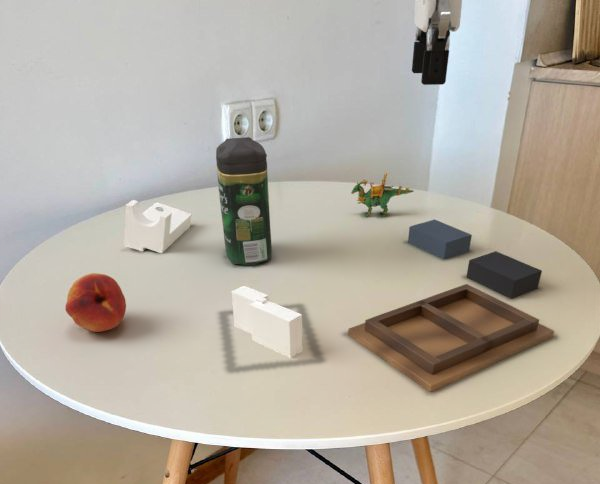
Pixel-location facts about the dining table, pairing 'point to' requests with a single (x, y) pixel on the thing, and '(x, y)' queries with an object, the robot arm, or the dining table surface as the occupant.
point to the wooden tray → (449, 335)
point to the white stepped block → (267, 321)
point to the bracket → (154, 226)
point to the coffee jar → (244, 200)
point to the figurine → (377, 195)
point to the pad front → (439, 239)
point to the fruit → (96, 302)
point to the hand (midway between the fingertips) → (427, 78)
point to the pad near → (504, 274)
